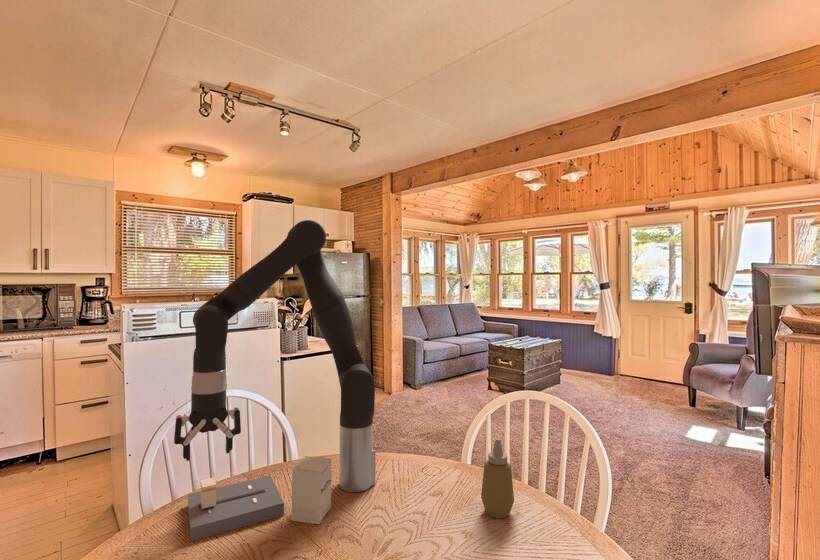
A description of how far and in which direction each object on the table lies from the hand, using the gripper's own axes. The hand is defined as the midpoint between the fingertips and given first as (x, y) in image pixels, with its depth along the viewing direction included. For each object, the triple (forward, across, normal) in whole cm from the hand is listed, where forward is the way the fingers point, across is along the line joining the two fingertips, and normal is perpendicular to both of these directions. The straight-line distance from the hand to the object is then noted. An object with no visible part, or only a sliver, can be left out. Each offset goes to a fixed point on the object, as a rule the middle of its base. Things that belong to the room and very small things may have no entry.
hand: (208, 455), depth 98 cm
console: (+15, -6, 0) cm, 16 cm away
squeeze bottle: (+14, -62, +33) cm, 72 cm away
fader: (+11, 0, 0) cm, 11 cm away
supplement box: (+15, -22, +11) cm, 29 cm away
